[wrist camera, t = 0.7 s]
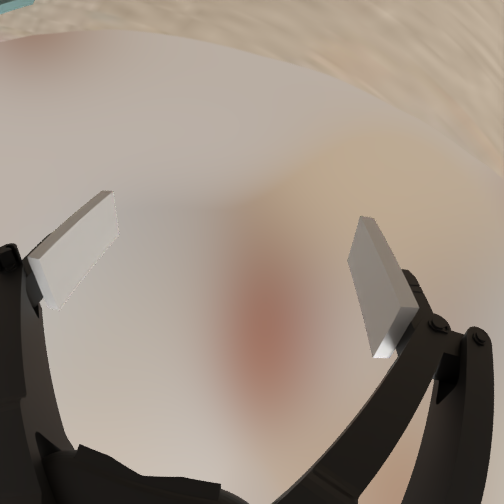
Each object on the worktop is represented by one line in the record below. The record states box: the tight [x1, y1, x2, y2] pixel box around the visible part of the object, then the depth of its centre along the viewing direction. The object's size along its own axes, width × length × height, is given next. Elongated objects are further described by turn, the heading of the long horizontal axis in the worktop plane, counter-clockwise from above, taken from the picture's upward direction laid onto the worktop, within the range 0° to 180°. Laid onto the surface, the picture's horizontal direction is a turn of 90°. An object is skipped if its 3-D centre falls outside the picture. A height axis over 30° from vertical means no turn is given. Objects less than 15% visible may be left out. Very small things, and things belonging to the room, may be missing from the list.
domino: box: [0, 0, 34, 14], centre depth 15 cm, size 2×5×10 cm, turn 48°
